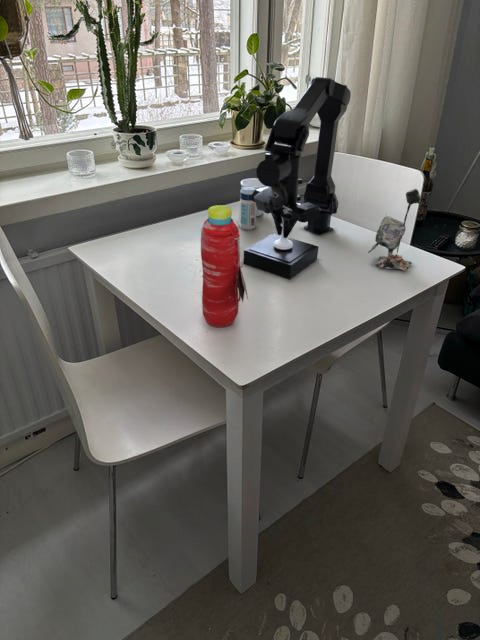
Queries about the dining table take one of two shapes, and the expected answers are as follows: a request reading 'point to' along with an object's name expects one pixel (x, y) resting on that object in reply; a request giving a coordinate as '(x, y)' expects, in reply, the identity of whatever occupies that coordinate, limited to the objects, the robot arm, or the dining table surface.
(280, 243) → the chess piece
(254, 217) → the white supplement bottle
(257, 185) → the dixie cup
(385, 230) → the grey mottled stone figure
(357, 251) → the dining table surface
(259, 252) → the stand
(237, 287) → the water bottle
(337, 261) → the dining table surface
